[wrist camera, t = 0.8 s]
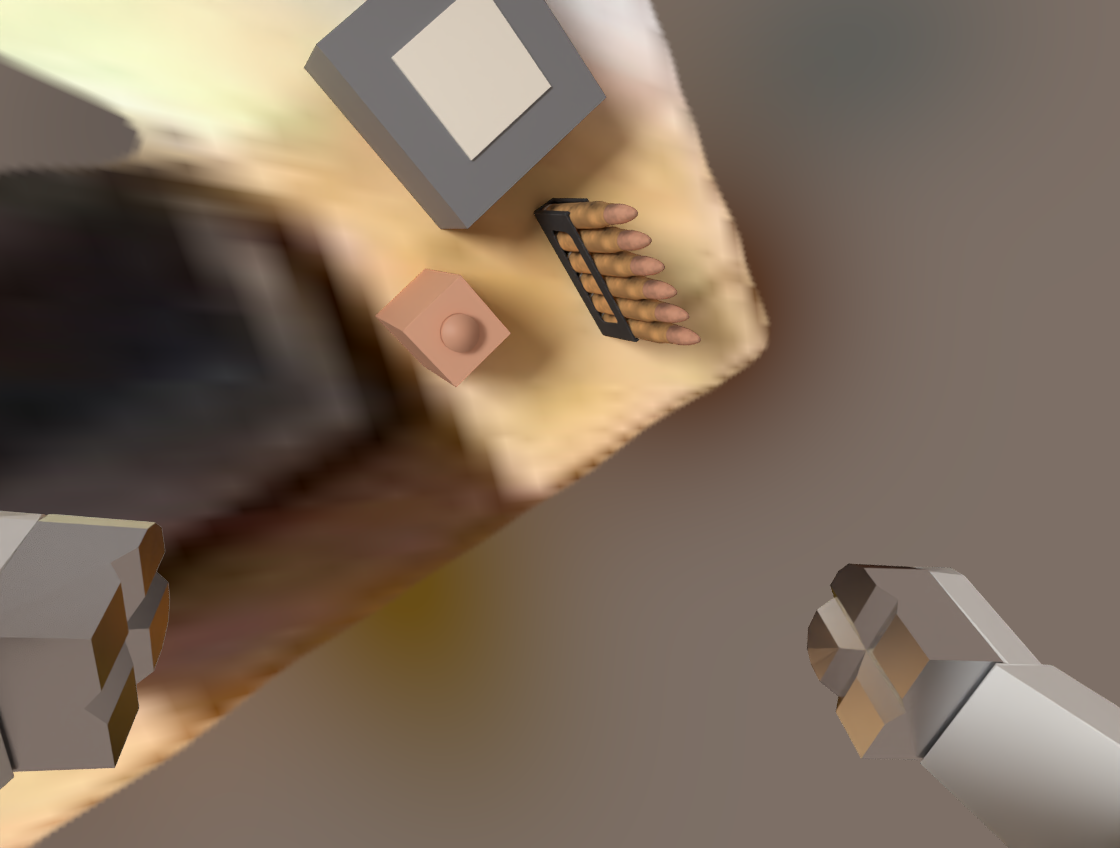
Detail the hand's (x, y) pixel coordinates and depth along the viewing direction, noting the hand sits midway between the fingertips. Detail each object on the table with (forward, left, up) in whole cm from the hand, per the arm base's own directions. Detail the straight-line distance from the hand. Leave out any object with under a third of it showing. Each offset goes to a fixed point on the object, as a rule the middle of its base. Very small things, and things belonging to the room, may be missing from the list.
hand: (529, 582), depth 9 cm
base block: (-7, +16, -41) cm, 44 cm away
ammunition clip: (+8, +19, -41) cm, 46 cm away
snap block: (+5, +8, -41) cm, 42 cm away
